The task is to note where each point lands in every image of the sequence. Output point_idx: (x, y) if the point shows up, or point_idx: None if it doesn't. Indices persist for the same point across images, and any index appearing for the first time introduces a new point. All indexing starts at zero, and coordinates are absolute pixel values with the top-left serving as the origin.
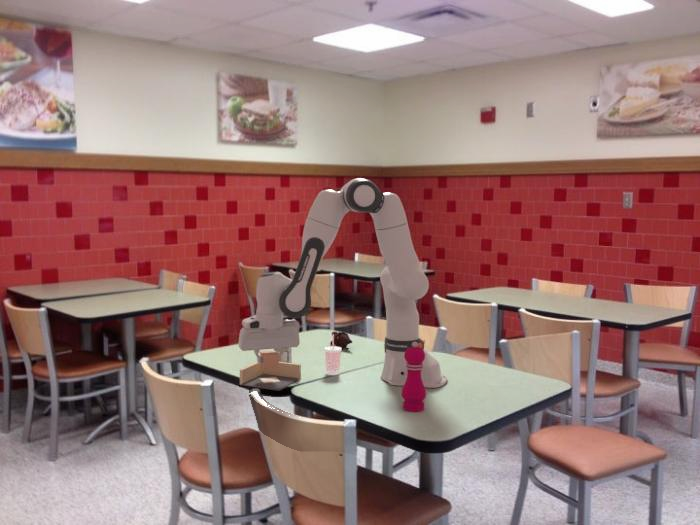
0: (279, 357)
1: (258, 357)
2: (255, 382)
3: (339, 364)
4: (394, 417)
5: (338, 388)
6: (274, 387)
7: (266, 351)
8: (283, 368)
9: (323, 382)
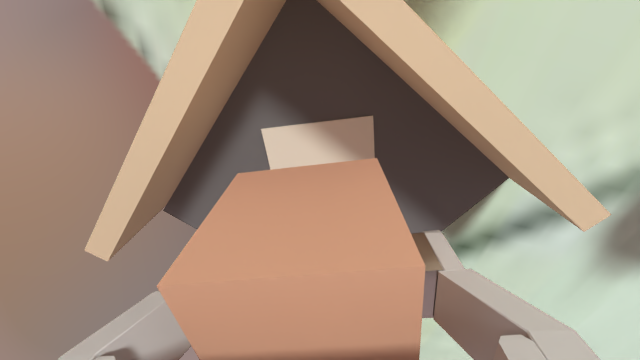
0: (425, 304)
1: (179, 339)
2: None
3: None
4: None
5: (590, 325)
6: None
7: (265, 295)
8: (456, 121)
9: (595, 246)
